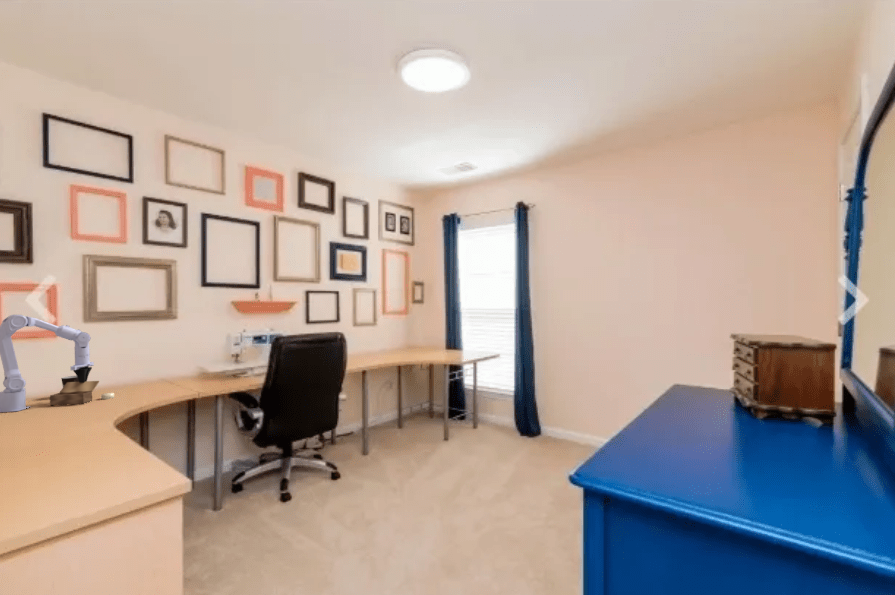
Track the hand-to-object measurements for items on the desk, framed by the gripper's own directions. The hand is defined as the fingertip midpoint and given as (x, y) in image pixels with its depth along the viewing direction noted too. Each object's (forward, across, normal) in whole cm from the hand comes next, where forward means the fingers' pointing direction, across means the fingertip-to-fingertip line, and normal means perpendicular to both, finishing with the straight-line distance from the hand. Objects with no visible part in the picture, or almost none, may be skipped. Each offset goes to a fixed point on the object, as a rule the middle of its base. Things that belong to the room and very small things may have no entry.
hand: (83, 382), depth 215 cm
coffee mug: (+9, +11, +12) cm, 19 cm away
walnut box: (+9, -8, 0) cm, 12 cm away
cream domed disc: (+9, 0, -11) cm, 14 cm away
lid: (+2, -3, 0) cm, 3 cm away
